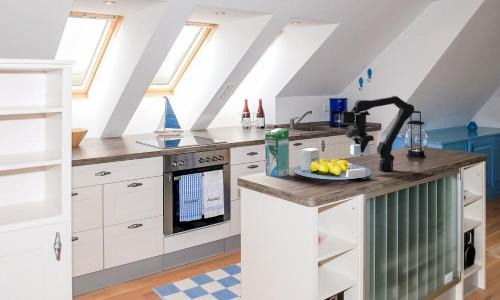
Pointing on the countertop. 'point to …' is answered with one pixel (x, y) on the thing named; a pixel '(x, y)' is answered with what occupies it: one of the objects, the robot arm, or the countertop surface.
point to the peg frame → (354, 172)
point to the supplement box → (309, 157)
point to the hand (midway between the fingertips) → (360, 151)
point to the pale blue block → (359, 149)
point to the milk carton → (277, 152)
